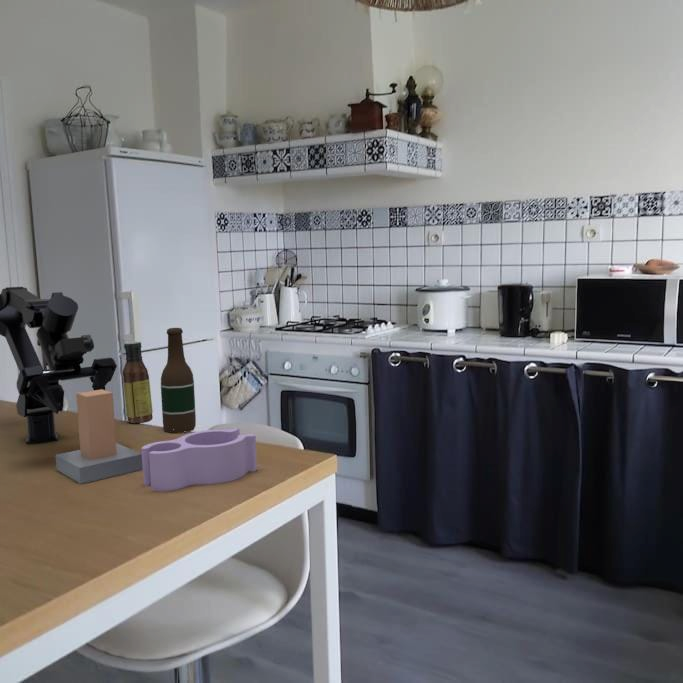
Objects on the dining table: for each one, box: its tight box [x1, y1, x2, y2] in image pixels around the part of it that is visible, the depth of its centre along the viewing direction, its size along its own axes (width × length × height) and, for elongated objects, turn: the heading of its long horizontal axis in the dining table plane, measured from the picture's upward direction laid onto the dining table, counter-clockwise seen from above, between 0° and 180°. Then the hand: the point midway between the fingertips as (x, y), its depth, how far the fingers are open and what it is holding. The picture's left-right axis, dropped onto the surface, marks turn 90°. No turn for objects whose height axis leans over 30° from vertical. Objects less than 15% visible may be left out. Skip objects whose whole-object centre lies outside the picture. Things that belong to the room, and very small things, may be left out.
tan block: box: [75, 389, 117, 460], centre depth 132 cm, size 5×5×12 cm
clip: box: [140, 427, 258, 492], centre depth 127 cm, size 20×12×7 cm, turn 126°
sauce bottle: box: [122, 341, 154, 424], centre depth 171 cm, size 6×6×20 cm
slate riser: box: [55, 442, 143, 485], centre depth 132 cm, size 12×12×3 cm
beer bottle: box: [160, 327, 197, 434], centre depth 161 cm, size 8×8×24 cm
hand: (81, 408), depth 137 cm, fingers open, 9 cm apart
